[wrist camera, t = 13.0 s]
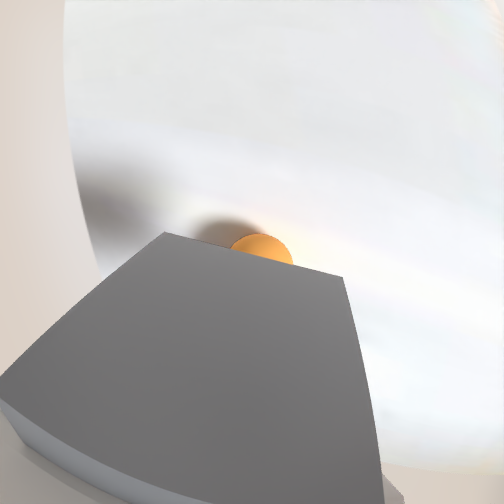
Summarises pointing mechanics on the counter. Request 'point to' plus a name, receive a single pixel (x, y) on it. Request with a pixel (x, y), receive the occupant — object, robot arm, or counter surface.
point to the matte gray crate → (203, 384)
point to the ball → (263, 247)
